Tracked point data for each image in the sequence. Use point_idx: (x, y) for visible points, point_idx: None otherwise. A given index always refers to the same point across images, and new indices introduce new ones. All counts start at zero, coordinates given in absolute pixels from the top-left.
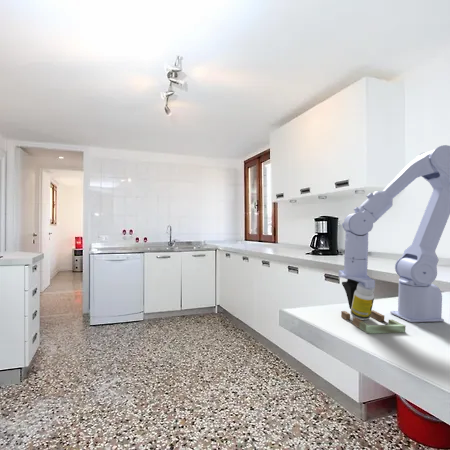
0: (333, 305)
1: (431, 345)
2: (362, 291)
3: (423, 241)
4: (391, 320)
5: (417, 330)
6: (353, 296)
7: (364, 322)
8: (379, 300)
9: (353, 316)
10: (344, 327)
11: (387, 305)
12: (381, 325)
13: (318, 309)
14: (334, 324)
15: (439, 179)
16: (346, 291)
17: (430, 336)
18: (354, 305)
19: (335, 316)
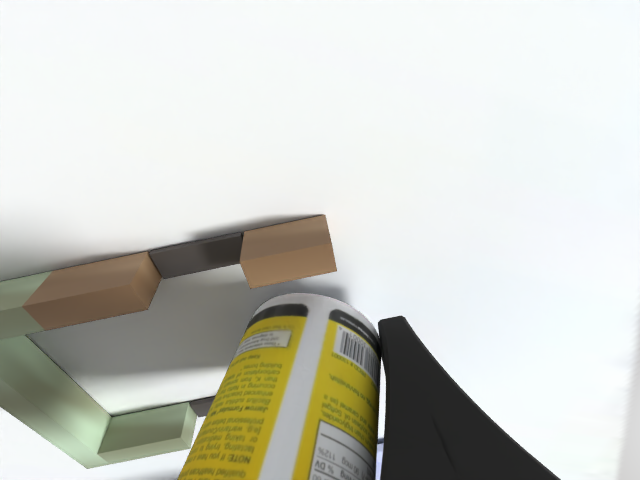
0: (636, 230)
1: None
2: None
3: None
4: (167, 443)
5: (162, 462)
6: (296, 468)
7: (26, 331)
8: (605, 437)
9: (280, 295)
10: (7, 165)
11: (523, 445)
12: (15, 397)
13: (584, 52)
14: (59, 90)
15: None
16: (493, 457)
17: (95, 476)
18: (259, 378)
19: (338, 170)
